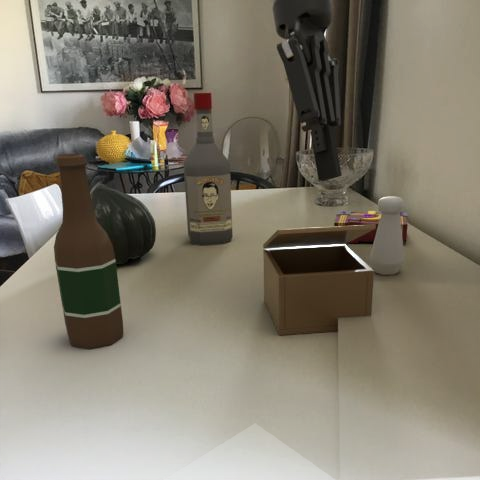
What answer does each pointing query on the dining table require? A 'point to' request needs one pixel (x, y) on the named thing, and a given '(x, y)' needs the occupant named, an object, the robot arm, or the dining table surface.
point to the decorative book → (367, 223)
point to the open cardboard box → (315, 287)
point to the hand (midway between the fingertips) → (330, 178)
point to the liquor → (207, 182)
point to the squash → (124, 223)
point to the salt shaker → (388, 237)
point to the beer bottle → (85, 263)
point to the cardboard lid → (316, 236)
